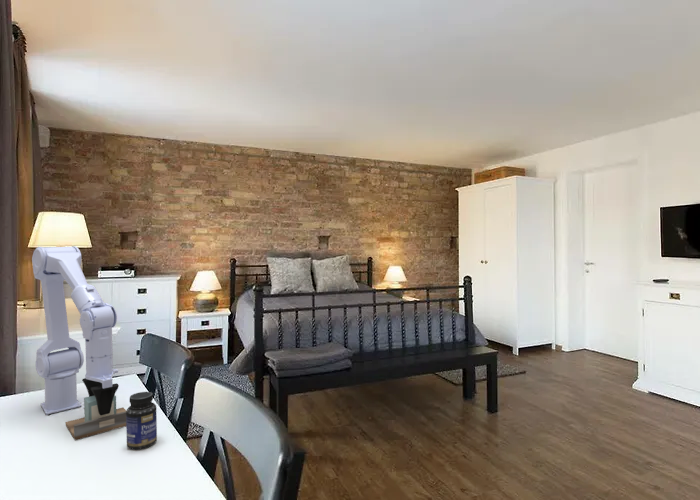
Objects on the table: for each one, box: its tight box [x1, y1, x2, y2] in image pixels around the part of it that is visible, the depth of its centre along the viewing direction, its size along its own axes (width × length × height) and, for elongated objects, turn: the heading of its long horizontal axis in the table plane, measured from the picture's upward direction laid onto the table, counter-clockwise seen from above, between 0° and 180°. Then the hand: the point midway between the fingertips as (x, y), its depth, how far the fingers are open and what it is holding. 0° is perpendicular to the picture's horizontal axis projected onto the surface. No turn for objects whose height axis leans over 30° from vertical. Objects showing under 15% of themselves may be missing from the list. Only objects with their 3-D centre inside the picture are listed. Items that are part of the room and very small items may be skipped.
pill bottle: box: [125, 391, 158, 451], centre depth 94 cm, size 6×6×11 cm
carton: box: [83, 395, 117, 422], centre depth 105 cm, size 5×6×6 cm
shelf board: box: [65, 407, 127, 441], centre depth 105 cm, size 11×13×3 cm
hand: (100, 409), depth 105 cm, fingers open, 7 cm apart
